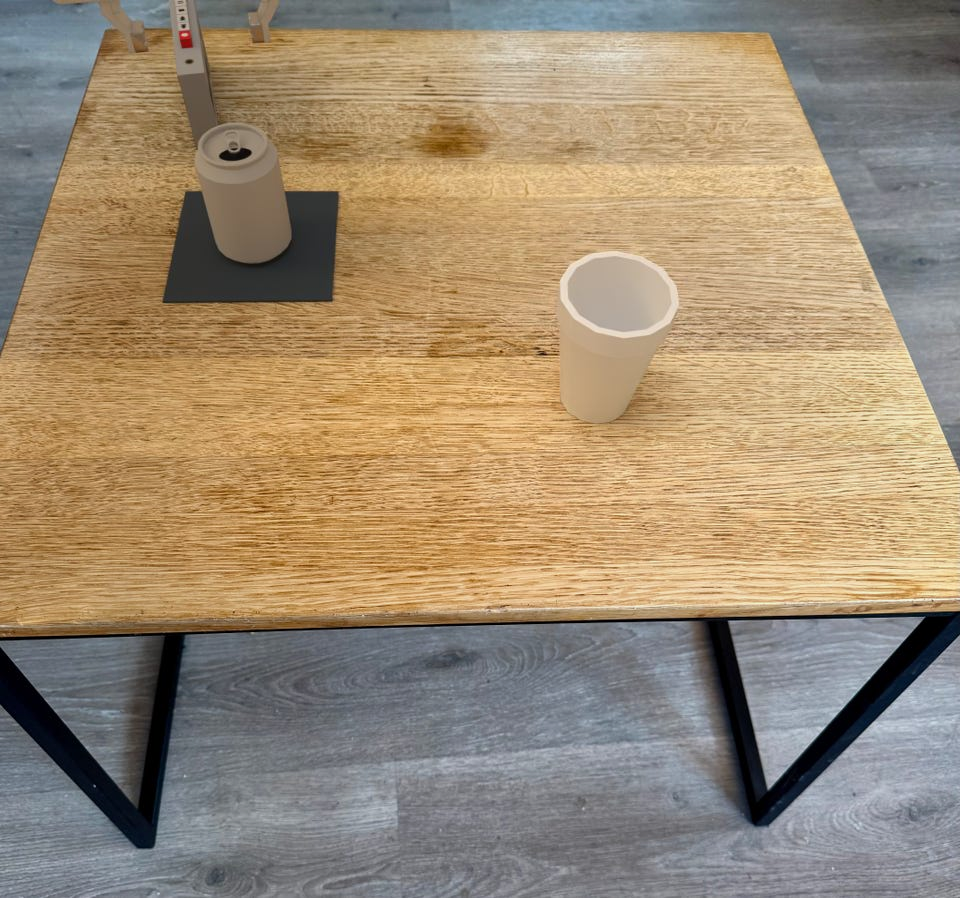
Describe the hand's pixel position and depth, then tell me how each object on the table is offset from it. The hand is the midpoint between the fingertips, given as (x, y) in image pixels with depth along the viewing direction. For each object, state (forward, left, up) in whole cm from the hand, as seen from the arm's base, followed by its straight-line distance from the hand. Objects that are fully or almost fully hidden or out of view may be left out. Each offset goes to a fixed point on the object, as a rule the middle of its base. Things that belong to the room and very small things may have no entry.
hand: (200, 44), depth 70 cm
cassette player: (-7, +24, -22) cm, 34 cm away
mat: (+1, +1, -22) cm, 22 cm away
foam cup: (+33, -19, -22) cm, 44 cm away
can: (+1, +1, -22) cm, 22 cm away
